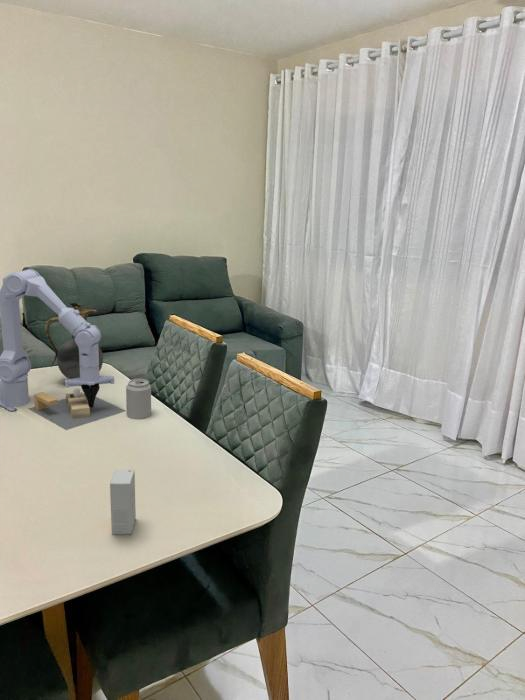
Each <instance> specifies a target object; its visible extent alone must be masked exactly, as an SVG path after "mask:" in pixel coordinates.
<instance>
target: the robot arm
mask: <svg viewBox="0 0 525 700" xmlns="http://www.w3.org/2000/svg"><path fill="white" fill-rule="evenodd" d="M25 296H28V297H36V298H38V299H40V301H42V302H43V303H45V304H46V306H47V307H48V308H50V309H51V310H52V311H53V312H54V313H55V314H57V315H58V316H57V317H59V322H58V323H60V324H62V326H63V327H64V328H65V329H66V330H67V331H68V332H69V333H70V334H71V336H72V335H73V336H74V337H76V338H74V339H75V343H76V344H77V345H78V347H79V362H80V377H79V378H74V379H69V378H67V379H64V385H65V388H66V389H68V388H70V387H81V388H80V389H81V390H82V393H83V394H85V396H86V398H87V401H88V405H89V407H90V408H92V407H94V401H95V398H96V397H97V394H98V393H99V391H100V389H101V388H100V385H104V384H105V385H106V384H107V385H108V384H111V385H113V384H115V377H114V376H113V375H100V371H99V351H98V345H99V342H100V341H101V338H102V333H101V332H102V331H101V330H100V329H99V328H98V326H97V325H95V324H94V325H93V324H91V323H90V322H88V321H87V322H86V321H85V320H84V319H83V318H82V317H81V316H80V315H79V313H80V312H79V311H78V310H74V309H73V307H67V305H65V303H63V301H62V300H61V299H60V298H59V297H58V295H57V294H56V293H55V292H54V291H53V289H52V288H51V287H50V286H49V285H48V284H47V282H46V280H45V278H44V277H43V276H42V275H40V274H39V272H38V271H37V270H35V269H32V268H28V269H24V270H22V271H17V272H11V273H9V274H7V275H6V276H4V277H3V278H2V284H1V288H0V323H1V335H2V347H3V348H2V349H3V351H2V352H1V355H0V406H1V407H3V408H4V409H6V410H8V411H10V412H14V411H18V409H17V407H18V408H19V407H22V406H23V407H25V405H26V406H27V405H28V404H30V396H29V381H28V376H29V374H28V373H29V372H30V371H31V369H32V362H31V361H30V359H29V355H28V354H29V353H28V351H26V349H24V347H23V334H22V323H21V321H22V320H21V309H20V308H21V307H20V300H21V299H22V298H23V297H25ZM96 343H97V344H96Z"/></svg>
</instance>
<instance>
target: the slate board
mask: <svg viewBox="0 0 525 700" xmlns="http://www.w3.org/2000/svg"><path fill="white" fill-rule="evenodd" d="M80 392H81V388H74V389H73V393H74V398H76V397H81V396H80ZM83 395H84V397H85V399H86V401H87V398H86V396H85V394H84V393H83ZM33 399H34V406H33V407H29V408H28V410H30V411H32V412H33V413H35V414H36V415H38V416H41V417H42V418H44V419H46V420H48V421H49V422H51V423H52V424H55V425H56V426H58V427H59V428H62V429H64V431H67V430H71V429H74V428H77V427H81V426H83V425H86V424H90V423H92V422H96V421H99V420H103V419H106V418H108V417H111V416H116V415H118V414H121V413H124V412H127V409H124V408H121V407H120V406H117V405H114V404H112V403H110V402H108V401H106V400H104V399H102V398H100V397H97V396H96V398H95V401H94V407H92V408H90V417H84V418H76V419H73V418H72V415H71V413H70V410H69V408H68V405H67V403H66V398H62V399H59V400H58V399H57V398H55V397H53V396H52V395H50V394H48V393H46V392H43V391H42V392H39V393H34V394H33ZM87 403H88V401H87Z"/></svg>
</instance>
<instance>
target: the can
mask: <svg viewBox="0 0 525 700" xmlns="http://www.w3.org/2000/svg"><path fill="white" fill-rule="evenodd" d="M125 393H126V394H125V396H126V400H125V401H126V404H125V405H126V416H127V418H129V419H131V420H145V419H148V418H150V417H151V416H152V386H151V384H150V381H149V380H148V379H144V378H134V379H130V380H129V381H128V382H127V385H126V386H125Z"/></svg>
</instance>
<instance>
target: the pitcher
mask: <svg viewBox="0 0 525 700" xmlns="http://www.w3.org/2000/svg"><path fill="white" fill-rule="evenodd" d="M69 304H70V306H72V308H73V309H74V310H78V311H79V312H80V313H79V315H80V316H81V317H82V318H83V319H84V320H85V321H86V322H87V323H88V321H87V319H88V317H89V315H90V314H91V313H93V312H95V313H97V312H98V310H96V309H94V308H91V307H87V306H86V307H82V306H81V304H80V303H77V302H69ZM57 322H58V323H60V322H59V317H58V316H55V317H51V318H49V319H48V320H47V321H46V323H45V326H44V332H45V336H46V339H47V340H48V342H49V343H50V346H51V347H52V349H53V350H54V354H55V355H54V359H53V360H52V363H51V365H50V367H52V366H54V364H55V362H56V361H57V367H58V369H59V371H60V373H61V374H62V375H63V376H64V377H65V378H67V379H74V378H79V377H80V362H79V347H78V345H77V344H76V343H75V339H74V338H76V337H74V336H73V335H72V334H71V338H69V339H67V340H66V341H64V342H62V344H61V346H60V347H59V349H58V351H57V347H56V346H55V344H54V343H53V341H52V338H51V335H50V331H49V328H50V325H51V324H53V323H57ZM97 343H98V342H97ZM97 343H96V344H97ZM98 351H99V372H101V370H102V367H103V364H104V353H103V351H102V348H101V346H100V345H99V344H98Z"/></svg>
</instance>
